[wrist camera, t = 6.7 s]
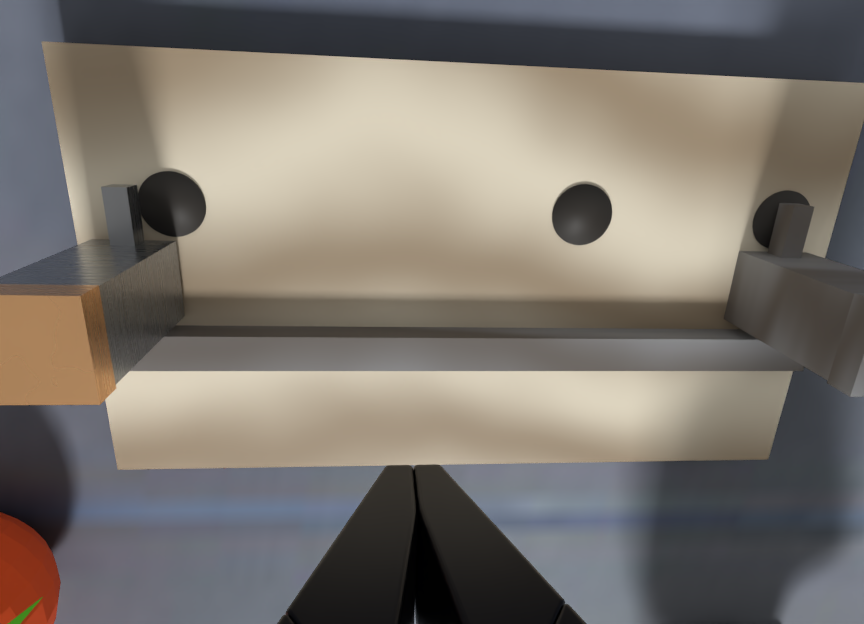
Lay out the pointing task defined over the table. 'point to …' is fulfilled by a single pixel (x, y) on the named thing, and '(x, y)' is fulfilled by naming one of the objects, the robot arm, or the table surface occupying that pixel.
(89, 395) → the slider
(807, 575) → the table surface
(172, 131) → the board
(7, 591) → the clementine
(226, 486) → the table surface
